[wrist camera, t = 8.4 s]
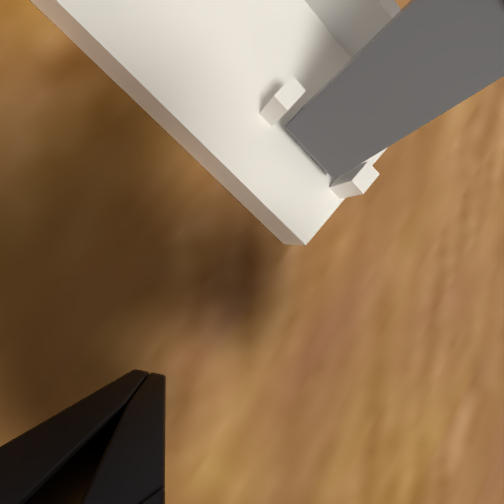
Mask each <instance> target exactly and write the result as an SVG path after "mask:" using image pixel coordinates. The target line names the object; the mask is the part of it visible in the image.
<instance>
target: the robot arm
mask: <svg viewBox="0 0 504 504" xmlns="http://www.w3.org/2000/svg"><path fill="white" fill-rule="evenodd" d="M165 392H166V377H165V376H164V375H162V374H157V373H150V374H149V373H148V372H147V371H142V370H137V369H135V370H132V371H130V372H129V373H127V374H125V375H123V376H122V377H120V378H118V379H117V380H115V381H113V382H111V383H110V384H108V385H106V386H105V387H103V388H101V389H99V390H98V391H96V392H94V393H92V394H91V395H89V396H87V397H86V398H84V399H82V400H80V401H79V402H77V403H75V404H73V405H72V406H70V407H68V408H67V409H65V410H63V411H61V412H60V413H58V414H56V415H54V416H53V417H51V418H49V419H48V420H46V421H44V422H42V423H41V424H39V425H37V426H36V427H34V428H32V429H30V430H29V431H27V432H25V433H23V434H22V435H20V436H18V437H17V438H15V439H13V440H11V441H10V442H8V443H6V444H4V445H3V446H1V447H0V504H165Z"/></svg>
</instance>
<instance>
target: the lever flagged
mask: <svg viewBox="0 0 504 504" xmlns="http://www.w3.org/2000/svg"><path fill="white" fill-rule="evenodd" d="M503 76H504V0H411V1H410V2H409V3H408V4H407V5H406V6H404V7H403V8H402V9H401V10H400V11H399V12H398V13H397V14H396V15H395V16H394V17H393V18H392V19H391V20H390V21H389V22H388V23H387V24H386V25H385V26H384V27H383V28H382V29H381V30H380V31H379V32H378V33H377V34H376V35H375V36H374V37H373V38H372V39H371V40H370V41H369V42H368V43H367V44H366V45H365V46H364V47H363V48H362V49H361V50H360V51H359V52H358V53H357V54H356V55H355V56H354V57H353V58H352V59H351V60H350V61H349V62H348V63H347V64H346V65H345V66H344V67H342V68H341V69H340V70H339V71H338V72H337V73H336V74H335V75H334V76H333V77H332V78H331V79H330V80H329V81H328V82H327V83H326V84H325V85H324V86H323V87H322V88H321V89H320V90H319V91H318V92H317V93H316V94H315V95H314V96H313V97H312V98H311V99H310V100H309V101H308V102H307V103H306V104H305V105H304V106H303V107H302V108H301V109H300V110H299V111H298V112H297V113H296V114H295V115H294V116H293V117H292V118H291V119H290V121H289V122H288V123H287V124H286V125H285V126H284V127H285V128H286V129H287V131H288V132H289V133H290V134H291V135H292V136H293V137H294V138H295V139H296V140H297V141H298V142H299V143H300V145H301V146H302V147H303V148H304V149H305V150H306V151H307V152H308V153H309V154H310V155H311V156H312V157H313V159H314V160H315V161H316V162H317V163H318V164H319V165H320V166H321V167H322V168H323V169H324V170H325V171H326V173H327V174H328V175H329V176H330V177H331V178H335V179H337V178H338V177H340V176H341V175H343V174H345V173H346V172H348V171H350V170H351V169H353V168H354V167H356V166H358V165H359V164H361V163H363V162H364V161H366V160H368V159H369V158H371V157H372V156H374V155H376V154H377V153H379V152H381V151H382V150H384V149H385V148H387V147H389V146H390V145H392V144H394V143H395V142H397V141H399V140H400V139H402V138H403V137H405V136H407V135H408V134H410V133H412V132H413V131H415V130H416V129H418V128H420V127H421V126H423V125H425V124H426V123H428V122H430V121H431V120H433V119H434V118H436V117H438V116H439V115H441V114H443V113H444V112H446V111H447V110H449V109H451V108H452V107H454V106H456V105H457V104H459V103H461V102H462V101H464V100H465V99H467V98H469V97H470V96H472V95H474V94H475V93H477V92H478V91H480V90H482V89H483V88H485V87H487V86H488V85H490V84H491V83H493V82H495V81H496V80H498V79H500V78H501V77H503Z"/></svg>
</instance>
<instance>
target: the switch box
mask: <svg viewBox="0 0 504 504" xmlns="http://www.w3.org/2000/svg"><path fill="white" fill-rule="evenodd" d="M30 1H31V2H32V3H33V4H34V5H35V6H36V7H37V8H38V9H39V10H40V11H41V12H42V13H43V14H44V15H45V16H47V17H48V18H49V19H50V20H51V21H52V22H53V23H54V24H55V25H56V26H57V27H58V28H59V29H60V30H61V31H62V32H63V33H64V34H65V35H66V36H67V37H68V38H69V39H70V40H72V41H73V42H74V43H75V44H76V45H77V46H78V47H79V48H80V49H81V50H82V51H83V52H84V53H85V54H86V55H87V56H88V57H89V58H90V59H91V60H92V61H93V62H94V63H95V64H97V65H98V66H99V67H100V68H101V69H102V70H103V71H104V72H105V73H106V74H107V75H108V76H109V77H110V78H111V79H112V80H113V81H114V82H115V83H116V84H117V85H118V86H119V87H120V88H122V89H123V90H124V91H125V92H126V93H127V94H128V95H129V96H130V97H131V98H132V99H133V100H134V101H135V102H136V103H137V104H138V105H139V106H140V107H141V108H142V109H143V110H144V111H145V112H147V113H148V114H149V115H150V116H151V117H152V118H153V119H154V120H155V121H156V122H157V123H158V124H159V125H160V126H161V127H162V128H163V129H164V130H165V131H166V132H167V133H168V134H169V135H170V136H172V137H173V138H174V139H175V140H176V141H177V142H178V143H179V144H180V145H181V146H182V147H183V148H184V149H185V150H186V151H187V152H188V153H189V154H190V155H191V156H192V157H193V158H194V159H196V160H197V161H198V162H199V163H200V164H201V165H202V166H203V167H204V168H205V169H206V170H207V171H208V172H209V173H210V174H211V175H212V176H213V177H214V178H215V179H216V180H217V181H218V182H219V183H221V184H222V185H223V186H224V187H225V188H226V189H227V190H228V191H229V192H230V193H231V194H232V195H233V196H234V197H235V198H236V199H237V200H238V201H239V202H240V203H241V204H242V205H243V206H244V207H246V208H247V209H248V210H249V211H250V212H251V213H252V214H253V215H254V216H255V217H256V218H257V219H258V220H259V221H260V222H261V223H262V224H263V225H264V226H265V227H266V228H267V229H268V230H269V231H271V232H272V233H273V234H274V235H275V236H276V237H277V238H278V239H279V240H280V241H281V242H282V243H283V244H291V245H307V243H308V242H309V241H310V240H311V239H312V237H313V236H314V235H315V234H316V233H317V231H318V230H319V229H320V228H321V227H322V225H323V224H324V223H325V222H326V221H327V219H328V218H329V217H330V216H331V215H332V213H333V212H334V211H335V210H336V209H337V207H338V206H339V205H340V204H341V203H342V201H343V200H344V199H345V198H346V197H351V196H356V195H360V194H364V192H365V191H366V190H367V189H368V188H369V186H370V185H371V184H372V183H373V182H374V180H375V179H376V178H377V177H378V175H379V173H378V172H377V171H376V170H375V168H374V167H373V166H372V165H373V164H374V163H375V162H376V160H377V159H378V158H379V157H380V156H381V154H382V153H383V152H384V151H385V150H386V148H385V149H384V150H382V151H381V152H379V153H377V154H376V155H374V156H372V157H371V158H369V159H368V160H366V161H364V162H363V163H361V164H359V165H358V166H356V167H354V168H353V169H351V170H350V171H348V172H346V173H345V174H343V175H341V176H340V177H338V178H337V179H335V178H331V177H330V176H329V175H328V174H327V173H326V171H325V170H324V169H323V168H322V167H321V166H320V165H319V164H318V163H317V162H316V161H315V160H314V159H313V157H312V156H311V155H310V154H309V153H308V152H307V151H306V150H305V149H304V148H303V147H302V146H301V145H300V143H299V142H298V141H297V140H296V139H295V138H294V137H293V136H292V135H291V134H290V133H289V132H288V131H287V129H286V128H285V127H284V126H285V125H286V124H287V123H288V122H289V121H290V119H291V118H292V117H293V116H294V115H295V114H296V113H297V112H298V111H299V110H300V109H301V108H302V107H303V106H304V105H305V104H306V103H307V102H308V101H309V100H310V99H311V98H312V97H313V96H314V95H315V94H316V93H317V92H318V91H319V90H320V89H321V88H322V87H323V86H324V85H325V84H326V83H327V82H328V81H329V80H330V79H331V78H332V77H333V76H334V75H335V74H336V73H337V72H338V71H339V70H340V69H341V68H342V67H344V66H345V65H346V64H347V63H348V62H349V61H350V60H351V59H352V58H353V57H354V56H355V55H356V54H357V53H358V52H359V51H360V50H361V49H362V48H363V47H364V46H365V45H366V44H367V43H368V42H369V41H370V40H371V39H372V38H373V37H374V36H375V35H376V34H377V33H378V32H379V31H380V30H381V29H382V28H383V27H384V26H385V25H386V24H387V23H388V22H389V21H390V20H391V19H392V18H393V17H394V16H395V15H396V14H397V13H398V12H399V11H400V10H401V9H400V8H399V6H398V5H397V3H396V2H395V1H394V0H30Z"/></svg>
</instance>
